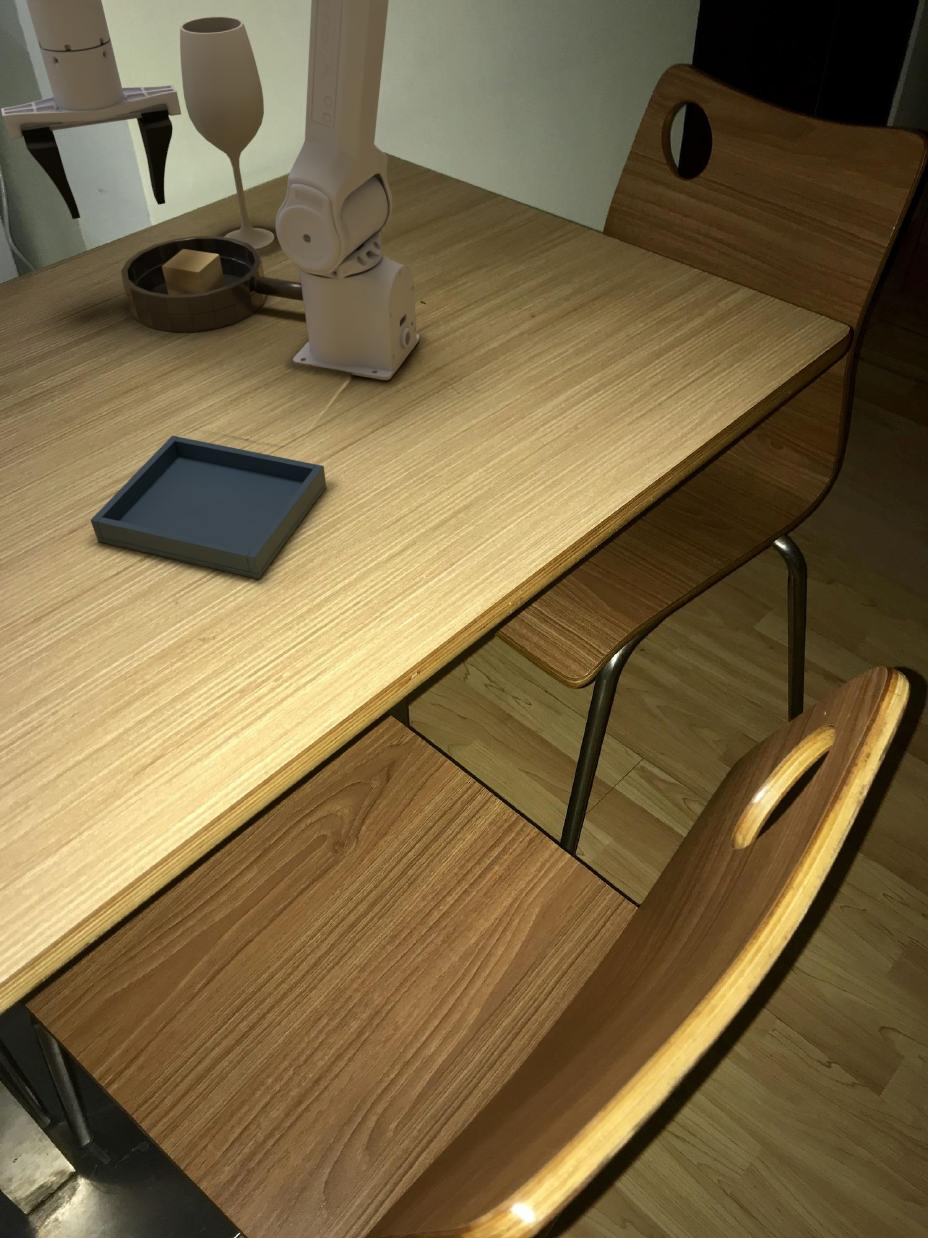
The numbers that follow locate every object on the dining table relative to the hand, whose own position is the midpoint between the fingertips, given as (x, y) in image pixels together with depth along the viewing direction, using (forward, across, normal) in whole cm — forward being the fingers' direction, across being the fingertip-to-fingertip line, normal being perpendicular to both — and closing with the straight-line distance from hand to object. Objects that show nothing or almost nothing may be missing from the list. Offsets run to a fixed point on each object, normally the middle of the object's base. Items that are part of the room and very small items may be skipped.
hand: (118, 207), depth 91 cm
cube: (+9, -5, +2) cm, 11 cm away
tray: (+10, +1, +36) cm, 37 cm away
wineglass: (+10, -13, -10) cm, 19 cm away
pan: (+10, -5, +2) cm, 11 cm away
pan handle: (+8, -13, +9) cm, 17 cm away
